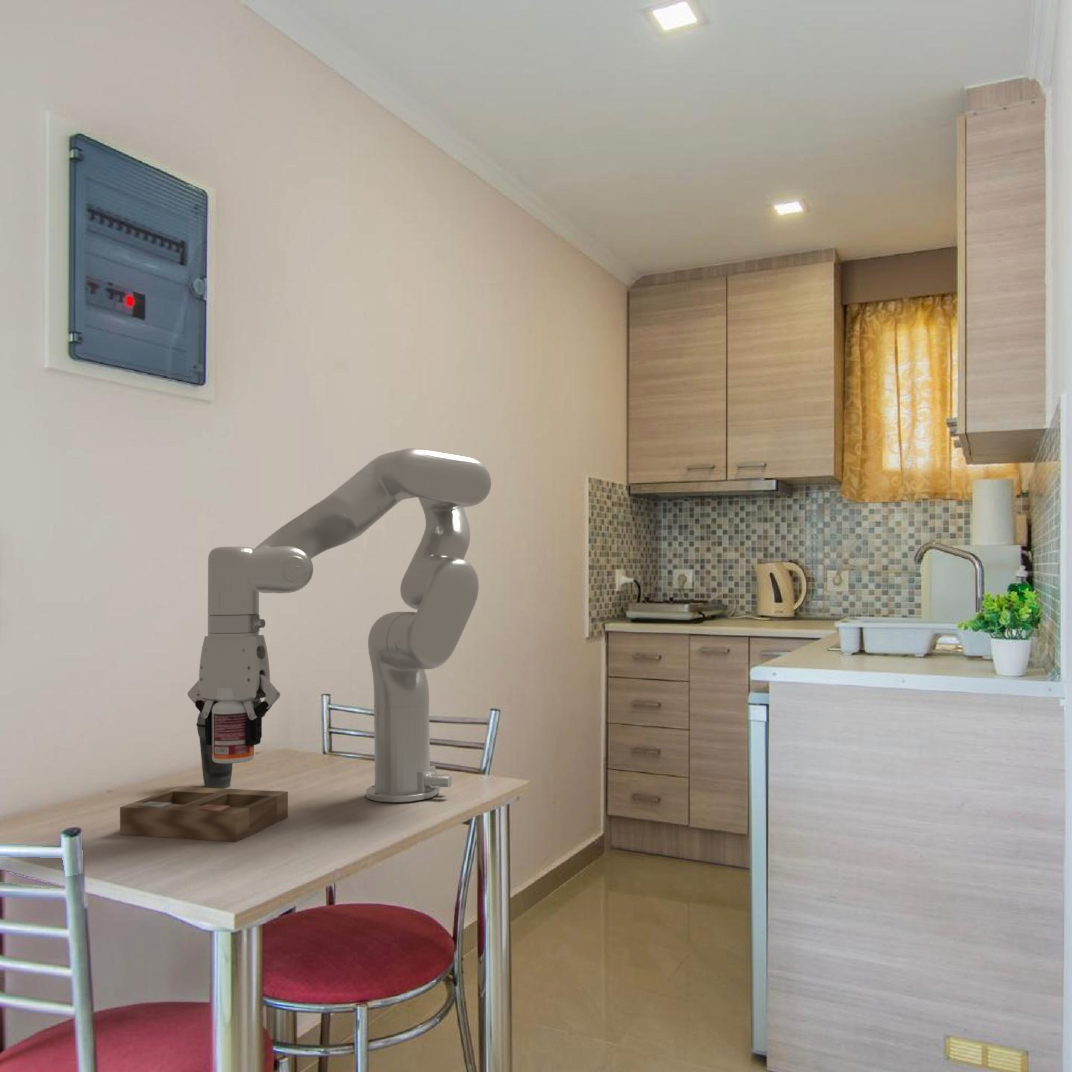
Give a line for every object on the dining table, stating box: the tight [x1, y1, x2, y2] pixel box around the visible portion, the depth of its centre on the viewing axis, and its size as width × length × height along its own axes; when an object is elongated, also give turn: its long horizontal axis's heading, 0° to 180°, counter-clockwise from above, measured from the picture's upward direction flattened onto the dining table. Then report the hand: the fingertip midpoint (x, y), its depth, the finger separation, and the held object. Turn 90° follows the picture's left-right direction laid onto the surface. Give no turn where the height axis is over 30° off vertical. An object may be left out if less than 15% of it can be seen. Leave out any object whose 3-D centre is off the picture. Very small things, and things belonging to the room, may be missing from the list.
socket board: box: [119, 786, 289, 843], centre depth 143 cm, size 20×14×4 cm
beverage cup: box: [195, 711, 234, 789], centre depth 171 cm, size 7×7×20 cm
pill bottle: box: [212, 688, 255, 764], centre depth 142 cm, size 6×6×11 cm
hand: (233, 743), depth 142 cm, fingers closed on pill bottle, 6 cm apart
